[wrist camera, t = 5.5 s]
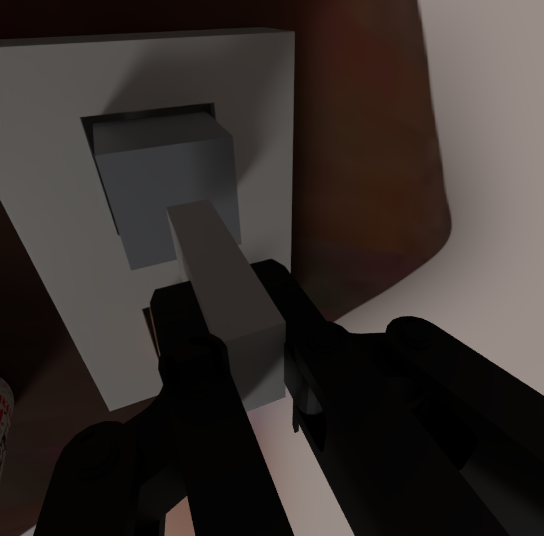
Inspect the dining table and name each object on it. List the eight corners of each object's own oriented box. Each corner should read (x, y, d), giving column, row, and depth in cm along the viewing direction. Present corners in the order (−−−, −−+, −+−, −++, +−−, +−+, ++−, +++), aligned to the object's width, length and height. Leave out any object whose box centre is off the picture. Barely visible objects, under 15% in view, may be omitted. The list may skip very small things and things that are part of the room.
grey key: (92, 123, 16) (94, 155, 12) (204, 110, 17) (232, 136, 14) (123, 223, 19) (131, 270, 15) (216, 205, 20) (241, 244, 17)
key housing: (-46, 41, 15) (-77, 51, 12) (262, 26, 19) (294, 31, 16) (107, 368, 28) (110, 411, 25) (270, 318, 33) (289, 349, 30)
